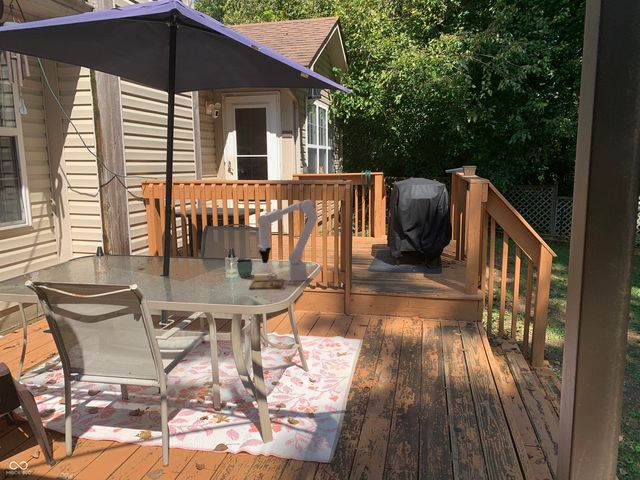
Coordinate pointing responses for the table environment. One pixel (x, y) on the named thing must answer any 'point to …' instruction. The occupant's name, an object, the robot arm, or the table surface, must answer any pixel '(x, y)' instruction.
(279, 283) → the hinge board
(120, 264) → the table surface
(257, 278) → the link
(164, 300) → the table surface
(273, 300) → the table surface
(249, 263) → the flower pot
